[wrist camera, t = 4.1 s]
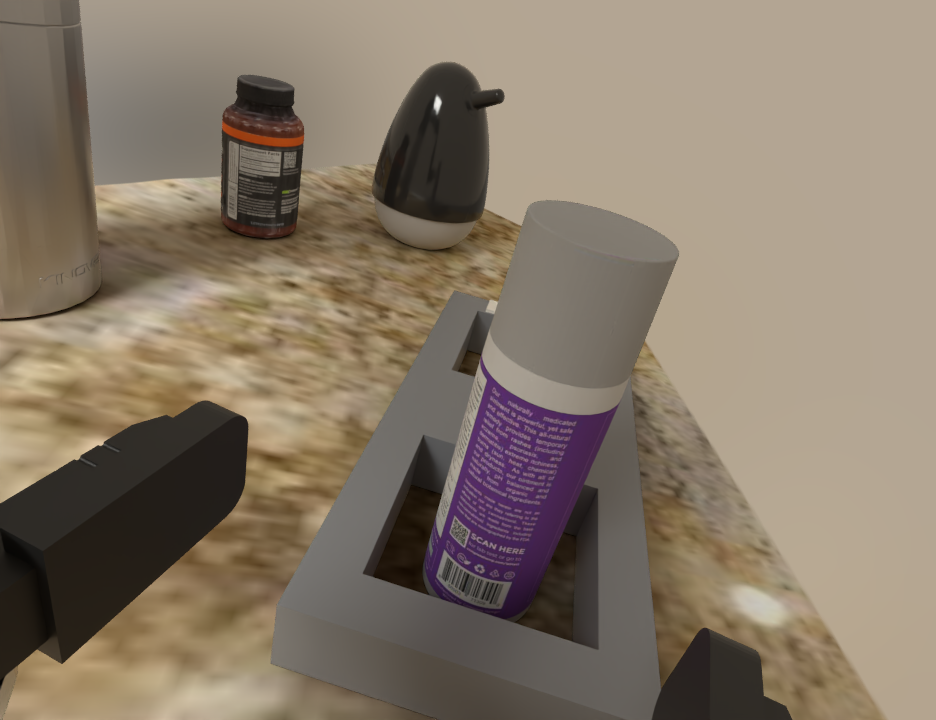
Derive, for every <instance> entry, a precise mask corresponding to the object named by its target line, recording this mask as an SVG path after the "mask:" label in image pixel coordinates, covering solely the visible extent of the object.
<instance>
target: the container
mask: <svg viewBox="0 0 936 720" xmlns="http://www.w3.org/2000/svg"><path fill="white" fill-rule="evenodd" d="M678 256H679V251H678V249H677V247H676V246H675V244H673V242H671V241H670V240H669V239H668V238H666V237H665V236H664V235H662V234H661V233H659V232H657V231H655V230H654V229H652V228H650V227H648V226H646V225H644V224H641V223H639V222H637V221H634V220H632V219H630V218H627V217H624V216H622V215H619V214H616V213H613V212H610V211H606V210H603V209H600V208H596V207H592V206H588V205H583V204H578V203H572V202H566V201H551V200H546V201H538V202H534V203H532V204H531V205H530V206H529V207H528V209H527V212H526V215H525V218H524V221H523V224H522V227H521V231H520V234H519V237H518V240H517V243H516V247H515V250H514V253H513V256H512V259H511V262H510V266H509V269H508V272H507V275H506V278H505V282H504V285H503V288H502V291H501V294H500V298H499V301H498V304H497V307H496V310H495V313H494V317H493V320H492V323H491V326H490V329H489V332H488V336H487V339H486V342H485V345H484V348H483V351H482V354H481V358H480V362H479V365H478V369H477V372H476V376H475V379H474V383H473V387H472V390H471V394H470V397H469V401H468V404H467V408H466V411H465V415H464V419H463V422H462V426H461V429H460V433H459V436H458V440H457V443H456V447H455V451H454V454H453V458H452V461H451V465H450V468H449V472H448V476H447V479H446V483H445V486H444V490H443V493H442V497H441V500H440V504H439V508H438V511H437V515H436V518H435V522H434V525H433V529H432V533H431V536H430V540H429V543H428V547H427V550H426V554H425V558H424V563H423V580H424V584H425V587H426V589H427V591H428V593H429V595H430V596H433V597H436V598H439V599H442V600H445V601H448V602H451V603H454V604H457V605H460V606H464V607H467V608H470V609H473V610H476V611H479V612H482V613H485V614H488V615H491V616H494V617H498V618H501V619H504V620H507V621H510V622H513V623H514V622H516V621H517V620H519V619H520V618H521V617H522V616H523V615H524V614H525V613H526V612H527V610H528V609H529V607H530V605H531V603H532V601H533V599H534V597H535V595H536V592H537V590H538V588H539V585H540V583H541V581H542V579H543V576H544V574H545V572H546V570H547V567H548V565H549V563H550V560H551V558H552V556H553V554H554V551H555V549H556V547H557V545H558V542H559V540H560V538H561V535H562V533H563V531H564V529H565V526H566V524H567V522H568V519H569V517H570V515H571V513H572V510H573V508H574V506H575V504H576V501H577V499H578V497H579V494H580V492H581V490H582V488H583V485H584V483H585V481H586V479H587V476H588V474H589V472H590V469H591V467H592V465H593V463H594V460H595V458H596V456H597V453H598V451H599V449H600V447H601V444H602V442H603V440H604V438H605V435H606V433H607V431H608V428H609V426H610V424H611V422H612V419H613V417H614V415H615V413H616V410H617V408H618V406H619V403H620V401H621V399H622V396H623V393H624V391H625V388H626V386H627V383H628V380H629V378H630V375H631V373H632V371H633V368H634V366H635V363H636V361H637V358H638V356H639V353H640V351H641V348H642V346H643V343H644V341H645V338H646V336H647V333H648V330H649V328H650V326H651V323H652V321H653V318H654V316H655V313H656V311H657V308H658V306H659V304H660V301H661V299H662V296H663V294H664V291H665V289H666V286H667V284H668V281H669V279H670V276H671V274H672V271H673V269H674V266H675V264H676V261H677V259H678Z"/></svg>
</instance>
